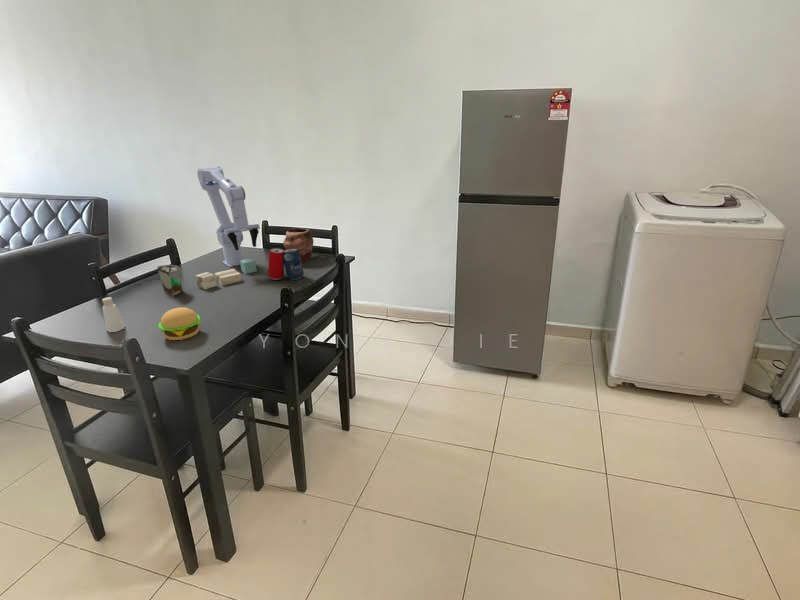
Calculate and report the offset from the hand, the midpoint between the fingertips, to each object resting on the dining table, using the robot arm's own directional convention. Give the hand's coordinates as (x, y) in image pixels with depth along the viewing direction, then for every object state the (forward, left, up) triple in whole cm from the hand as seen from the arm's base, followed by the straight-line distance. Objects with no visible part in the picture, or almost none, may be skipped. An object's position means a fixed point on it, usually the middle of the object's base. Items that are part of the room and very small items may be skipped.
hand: (245, 248), depth 194 cm
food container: (+4, -31, -11) cm, 33 cm away
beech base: (+5, -11, -11) cm, 16 cm away
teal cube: (-1, 0, -11) cm, 11 cm away
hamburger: (+45, -39, -11) cm, 61 cm away
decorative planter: (-2, +26, -11) cm, 28 cm away
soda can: (+21, +12, -11) cm, 26 cm away
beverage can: (+17, +5, -10) cm, 20 cm away
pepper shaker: (+27, -55, -11) cm, 62 cm away
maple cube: (+6, -20, -11) cm, 24 cm away
